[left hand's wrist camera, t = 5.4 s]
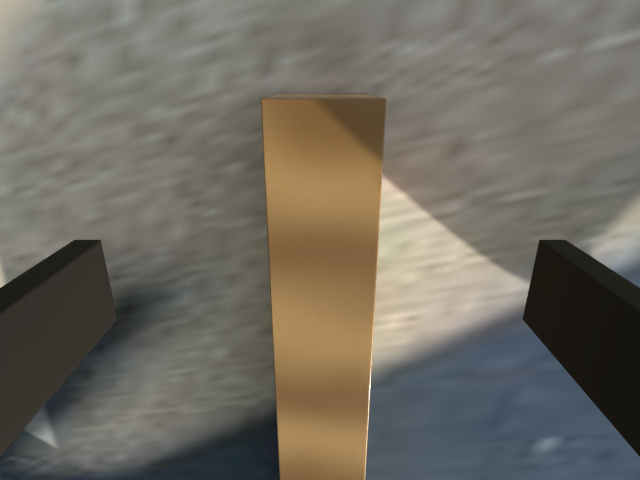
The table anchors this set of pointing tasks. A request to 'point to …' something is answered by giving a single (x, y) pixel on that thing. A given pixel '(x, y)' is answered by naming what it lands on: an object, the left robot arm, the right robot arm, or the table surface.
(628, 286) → the left robot arm
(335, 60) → the table surface
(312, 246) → the beam
